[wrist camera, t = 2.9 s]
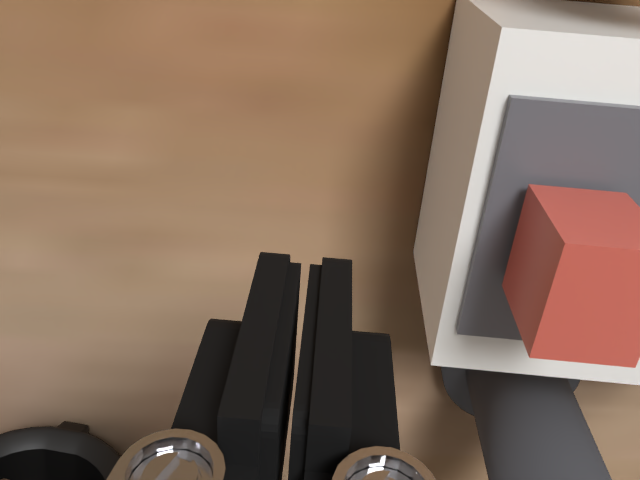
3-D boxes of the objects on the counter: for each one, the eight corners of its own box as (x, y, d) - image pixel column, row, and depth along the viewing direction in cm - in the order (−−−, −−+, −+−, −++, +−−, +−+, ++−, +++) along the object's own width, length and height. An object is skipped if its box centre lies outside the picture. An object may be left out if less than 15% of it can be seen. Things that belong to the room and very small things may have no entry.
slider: (626, 192, 15) (684, 253, 12) (590, 293, 16) (635, 367, 13) (528, 184, 15) (565, 243, 12) (501, 285, 16) (529, 357, 14)
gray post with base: (593, 308, 25) (697, 487, 18) (556, 411, 28) (631, 604, 20) (452, 296, 25) (493, 467, 18) (430, 399, 28) (456, 586, 21)
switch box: (824, 22, 19) (1057, 77, 13) (706, 279, 24) (831, 412, 18) (458, -9, 20) (505, 30, 13) (413, 252, 24) (432, 373, 18)
